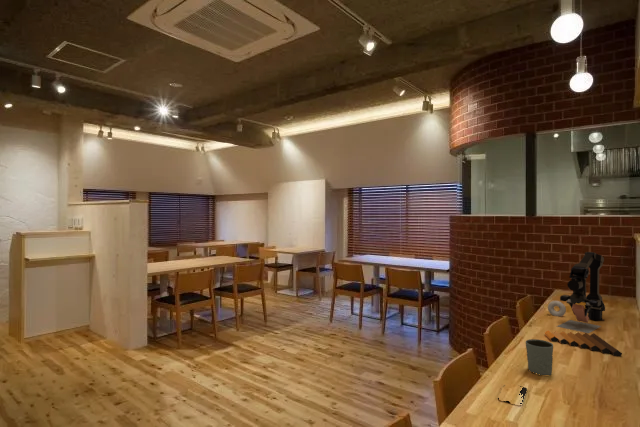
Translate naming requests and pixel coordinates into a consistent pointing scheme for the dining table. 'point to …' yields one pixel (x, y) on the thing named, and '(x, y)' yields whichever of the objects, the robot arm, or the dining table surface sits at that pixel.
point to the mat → (579, 326)
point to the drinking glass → (539, 356)
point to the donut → (559, 304)
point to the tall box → (580, 313)
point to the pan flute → (583, 342)
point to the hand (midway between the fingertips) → (579, 315)
